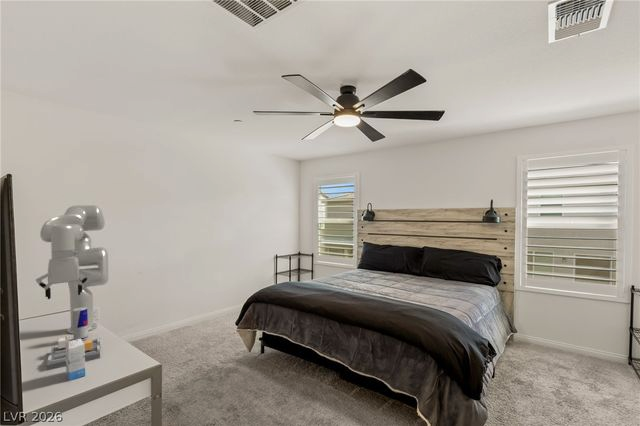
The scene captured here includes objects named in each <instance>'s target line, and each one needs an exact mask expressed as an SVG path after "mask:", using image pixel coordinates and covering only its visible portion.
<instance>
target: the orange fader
mask: <svg viewBox="0 0 640 426" xmlns="http://www.w3.org/2000/svg"><path fill="white" fill-rule="evenodd" d="M92 340H93V338H92V339H86V340H83V342H84V347H85V351H86V352H88V351H90V350H92Z"/></svg>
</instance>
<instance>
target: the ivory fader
mask: <svg viewBox="0 0 640 426" xmlns="http://www.w3.org/2000/svg"><path fill="white" fill-rule="evenodd" d="M67 338H68V339H69V337H68V336H67ZM57 344H58V345H57V347H58V349H60V348H61V349H65V347H66V345H65V337H60V338H59V339H58V341H57Z"/></svg>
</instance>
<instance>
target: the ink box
mask: <svg viewBox="0 0 640 426" xmlns="http://www.w3.org/2000/svg"><path fill="white" fill-rule="evenodd" d="M67 337H68V336H67V334H65V336H64V338H65V345H66V366H65V373H66V377H67V378H68V380H69V381H73V380H76V379H79V378H82V377H84V376H86V361H85V347H84V343H83V342H84V340H83V341H82V340H81V339H77V340H74V339H73V340H70V339H69V337H68V338H67Z"/></svg>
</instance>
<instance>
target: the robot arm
mask: <svg viewBox="0 0 640 426" xmlns="http://www.w3.org/2000/svg"><path fill="white" fill-rule="evenodd" d="M104 227H105V218H104V214H103V212H102V210H101V208H100V207H99V206H97V205H94V204H93V205H87V204H86V205H72V206H70V207H68V208H67V209H66V210H65V212H64V214H62V215H59V216H56V217H53V218H49V219H47V220H46V221H45V222H44V224H43V225H42V226H41V229H40V233H39V235H40V238H41V240H42V241H43V242H45V243H51V244H50V247H51V251H50V253H51V254H50V256H51V258H49V259H48V265H47V266H48V267H47V273H46V274H43V275H41V276H39V277H37V278H36V279H35V282H36V283H37V284H38V285H39V287H41V288H42V289H44V290H45V291H44V293H45V298H47V300H50V299H51V296H52V294H51V286H52V285H54V284H55V285H56V284H65V283H67V285H68V290H69V291H68V292H69V304H70V305H69V306H70V307H69V308H70V327H69V328H68V329H66V330H67V331H66V333H68V334H72V335H73V310H74V309H76V308H81V307H87V313H88V332H90V331H92V330H94V329H96V328H97V327H98V323H95V322H94V295H93V292H92V291H91V290H90V289H89V287H97V286H104V285H106V284H107V283H108V281H109V254H108V250H107V248H104V247H92V237H90V235H89V234H87V233H86V232H87V231H89V232H91V231H101V230H103V229H104ZM90 266H91V267H92V266H97V267H92V268H89V267H90ZM80 267H88V268H80ZM44 279H47V284H46V283H44V282H43V281H42V280H44Z"/></svg>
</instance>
